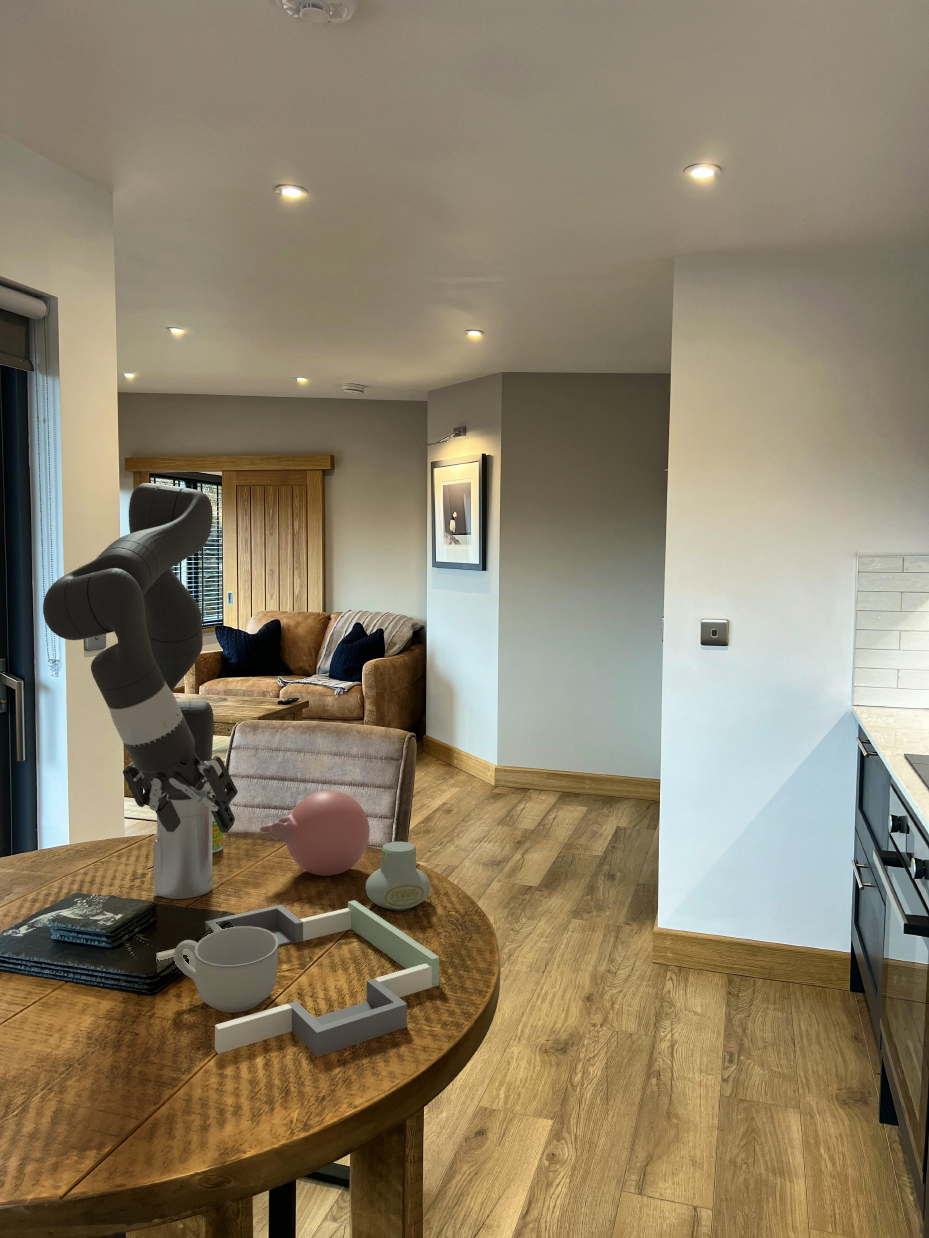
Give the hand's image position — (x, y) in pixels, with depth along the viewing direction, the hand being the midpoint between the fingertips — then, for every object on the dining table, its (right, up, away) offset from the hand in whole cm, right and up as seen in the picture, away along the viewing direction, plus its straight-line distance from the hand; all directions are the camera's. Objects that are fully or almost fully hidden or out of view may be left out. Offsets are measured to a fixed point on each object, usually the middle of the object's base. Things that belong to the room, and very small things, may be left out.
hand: (201, 828), depth 115 cm
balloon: (+6, -21, +51) cm, 55 cm away
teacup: (+2, -24, +3) cm, 24 cm away
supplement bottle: (-17, -19, +64) cm, 69 cm away
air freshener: (+23, -22, +37) cm, 49 cm away
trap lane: (+10, -23, +9) cm, 27 cm away
